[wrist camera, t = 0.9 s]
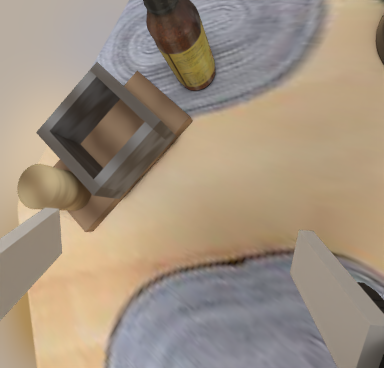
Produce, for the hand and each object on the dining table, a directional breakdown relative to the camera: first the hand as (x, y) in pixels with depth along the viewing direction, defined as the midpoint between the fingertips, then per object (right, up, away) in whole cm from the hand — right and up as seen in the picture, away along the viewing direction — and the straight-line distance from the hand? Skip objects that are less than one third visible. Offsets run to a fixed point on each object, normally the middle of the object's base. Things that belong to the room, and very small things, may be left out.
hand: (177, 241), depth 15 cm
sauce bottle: (+1, +21, +29) cm, 36 cm away
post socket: (-11, +8, +30) cm, 34 cm away
